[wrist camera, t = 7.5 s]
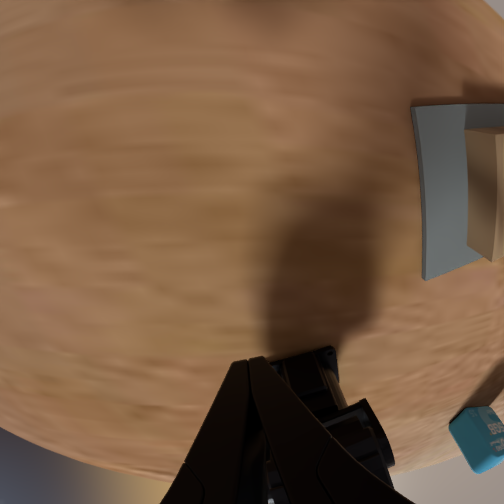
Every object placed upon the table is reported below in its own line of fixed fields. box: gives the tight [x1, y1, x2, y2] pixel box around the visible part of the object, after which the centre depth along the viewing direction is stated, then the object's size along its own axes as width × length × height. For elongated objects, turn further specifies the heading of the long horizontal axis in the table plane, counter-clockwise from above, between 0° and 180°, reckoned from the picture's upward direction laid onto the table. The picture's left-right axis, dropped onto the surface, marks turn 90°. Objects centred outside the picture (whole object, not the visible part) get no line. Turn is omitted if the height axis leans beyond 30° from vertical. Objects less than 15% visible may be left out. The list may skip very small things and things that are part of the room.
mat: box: [410, 104, 504, 281], centre depth 20 cm, size 14×15×1 cm
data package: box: [449, 406, 504, 474], centre depth 32 cm, size 12×4×12 cm, turn 67°
